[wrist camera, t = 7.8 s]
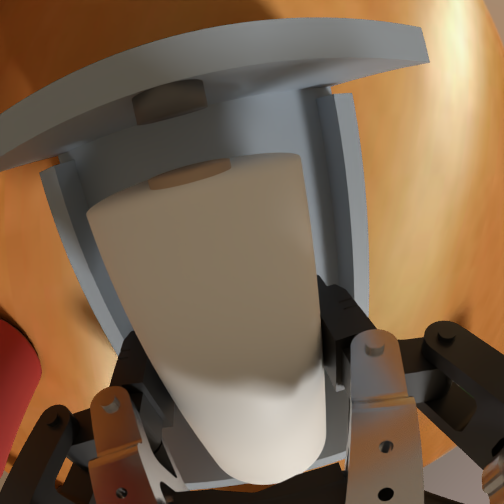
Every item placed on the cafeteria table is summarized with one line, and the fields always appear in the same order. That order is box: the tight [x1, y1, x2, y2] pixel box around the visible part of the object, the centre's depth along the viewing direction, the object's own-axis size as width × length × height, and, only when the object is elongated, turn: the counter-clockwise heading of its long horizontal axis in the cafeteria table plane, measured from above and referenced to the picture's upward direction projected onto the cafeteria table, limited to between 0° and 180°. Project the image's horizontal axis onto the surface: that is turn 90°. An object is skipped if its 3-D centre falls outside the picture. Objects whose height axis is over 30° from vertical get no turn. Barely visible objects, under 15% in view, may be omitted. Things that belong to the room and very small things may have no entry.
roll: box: [86, 153, 326, 485], centre depth 9 cm, size 11×5×5 cm, turn 11°
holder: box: [0, 18, 430, 490], centre depth 12 cm, size 17×13×8 cm
